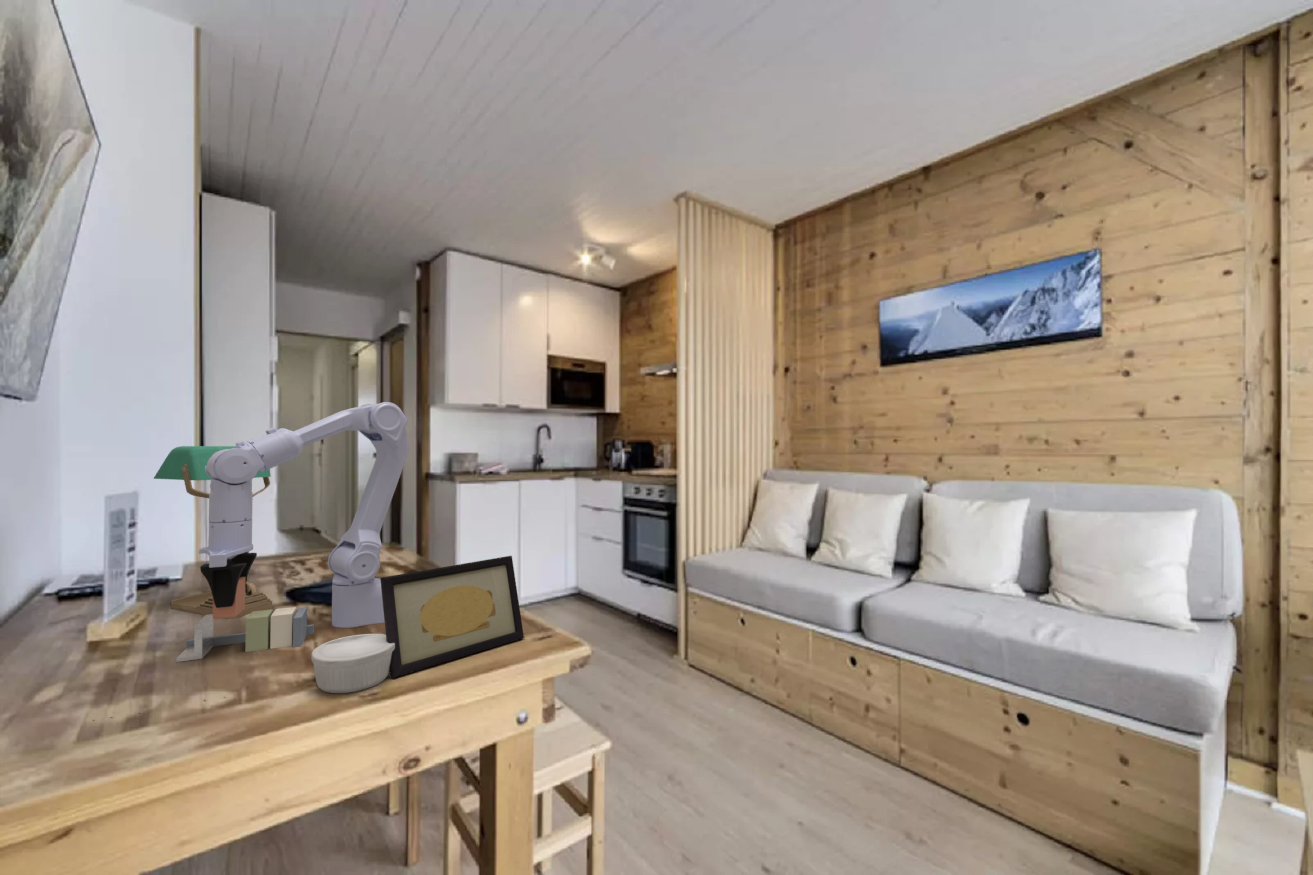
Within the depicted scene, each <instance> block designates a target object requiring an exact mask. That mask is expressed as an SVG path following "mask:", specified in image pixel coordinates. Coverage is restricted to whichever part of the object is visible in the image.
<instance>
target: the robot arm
mask: <svg viewBox="0 0 1313 875" xmlns="http://www.w3.org/2000/svg"><path fill="white" fill-rule="evenodd" d="M408 422H409V421H408V418H407V417H406V416H405V414H404V413H403V411H402V409H401V407H399V405H397V404H395V403H393V402H389V401H384V402H381V403H374V404H373V403H366V404H363V405H360V406H356V407H351V408H348V409H343V410H341V411H338V412H335V413H333V414H332V415H328V416H326V417H324V418H322V419H320V420H317V421H314V422H313V423H310V424H308V425H305V426H302V427H301V428H298V429H296V430H294V431H293V430H290V429H287V428H284V427H281V428H279V429H277V428H276V427H271V428H269V429H265V434H263V435H260V436H258V437H256V438H253V439H250V440H248V441H244V440H240V441H237V442H235V444H234V445H235V446H237V447H236V448H232V449H224V450H220V451H218V452H216V453H214V454H213V455H212V457H211V458H209V460H208V463H207V465H206V466H205V470H206V473H207V475H208V476H209V477H210V478H211V480H210V485H209V488H210V489H209V491H210V492H209V498H208V542H207V543H208V547H206V546H205V547H201V548H199V549H198V554H206V555H207V556H208V557H209V561H208V563H203V564H201V565H200V567H199V568H200V573H201V574H202V575H203V577H204V578H205V579H206V581H207V583H208V585H209V587H210V592H212V596H213V600H214V603H215V606H216V608H221V607H231V606H233V603H234V600H235V596H236V591H237V585H238V581H239V578H240V577H245V584H246V580H247V576H248V573H249V572H250V571H251V568H252V565H253V564H254V561H255V560H256V558H257V556H258V553H257V552H252V551H253V550H254V544H253V500H254V499H253V494H254V493H253V491H252V490H253V479H254V477H255V476H256V474H257V472H264V471H266V470H268V469H273V468H275V467H277V466H279V465H282V464H285V463H287V462H289V461H292V460H293V459H296V458H298V457H299V456H300V455H301V454H302V451H303V449H304V447H306V446H309V445H312V444H313V443H317V442H319V441H321V440H325V439H327V438H331V437H332V436H333V437H334V436H335V435H338V434H340V433H343V432H345V431H346V432H347V431H349V432H352V431H353V432H354V431H355V432H356V431H358V432H359V433H360V434H362V435H363V436H364V437H365V438H367V439H368V440H369V441H370V442H371V444H372V445H373V447H374V449H375V450H376V452H377V455H376V459H375V461H374V463H373V467H372V470H371V472H370V474H369V476H368V480H367V482H366V485H365V488H364V490H363V494H362V495H361V498H360V500H359V503H358V506H357V509H356V512H355V515H354V517H353V520H352V523H351V526H350V527H349V529H348V530H347V531H346V532H345V533H344V534H343V535H342V536H341V538H340V541H339V542H338V544H337V545H336V546H335V547H334V549H332V551H331V552H330V553H329V555H328V559H327V565H328V569H329V570H330V571H331V572H332V573H333V574H334V576H333V578H332V581H331V582H332V585H331V586H332V587H331V588H332V589H331V591H332V593H331V626H332V627H335V628H343V629H344V628H346V629H350V628H357V627H361V626H367V625H374V624H382V623H384V624H385V621H384V611H383V601H382V591H381V580H380V577H379V578H376V575H377V573H378V572H379V570H380V568H381V556H380V554H381V551H382V547H383V544H382V541H381V537H380V533H381V530H382V527H383V525H384V522H385V520H386V519H385V518H386V516H387V514H388V510H389V508H390V505H391V503H392V500H393V496H394V494H395V492H396V490H397V489H396V488H397V486H398V483H399V479H400V477H401V475H402V471H403V468H404V466H405V463H406V461H407V458H408V455H409V450H410V449H409V440H408V434H407V424H408ZM245 552H249V553H245ZM249 574H250V573H249Z"/></svg>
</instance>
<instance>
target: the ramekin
mask: <svg viewBox="0 0 1313 875" xmlns="http://www.w3.org/2000/svg"><path fill="white" fill-rule="evenodd" d="M394 649H395V643H388V642H386V634H384V633H363V634H354V635H349V636H344V637H340V638H336V639H332V640H329V641H326V642H324V643H322V644H320V645H318V646H317V647H315V648H314V649H313V650H312V652H311V654H310V656H311V658H310V659H311V663H312V664H313V670H314V675H315V676H314V677H315V682H316V686H317V687H318V688H319V689H321V690H322V691H323V692H325V693H330V694H347V693H354V692H358V691H362V690H363V691H364V690H366V689H369V688H372V687H374V686H376V685H379V684H380V683H382V682H383V681H384V680H385V679H386V678H387V677H388V676H389V675H390V662H391V656H392V651H393V650H394Z"/></svg>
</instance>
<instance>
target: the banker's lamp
mask: <svg viewBox="0 0 1313 875" xmlns="http://www.w3.org/2000/svg"><path fill="white" fill-rule="evenodd" d="M236 447H237V446H236V445H232V446H231V445H225V446H224V445H223V446H222V445H216V446H215V445H212V446H211V445H198V446H197V445H194V446H193V445H192V446H191V445H182V446H176V447H174V448H172V449H171V450H170V452H169V453H168V455H167V456H166V457H165V458H164V460H163V462H162V463H161V466H160V467H159V469H158V470H157V472H156V474H155V475H154V476H153V480H154V479H156V480H175V481H176V480H177V481H183V482H184V485H185V490H186V493H187V494H189V495H190V496H194V497H199V498H202V499H203V498H204V499H209V494H210V492H204V491H200V490H197V489H195V488H193V485H192V481H211V478H210V477H209V476H208V475H207V473H206V470H205V466H206V465H207V463H208V460H209V458H211V457H212V455H213V454H214V453H216V452H218V451H220V450H224V449H232V448H236ZM271 477H272V476H271V470H270V469H268V470H266V471H264V472H257V474H256V476H255V477H254V478H257V479H259V478H262V480H263V481H262V482H263V484H264V487H263V488H261V489H260V490H258V491H256V492H254V493H253V497H255V496H257V495H258V494H261V493H262V492H265V490H266V489H268V488H269V486H270V485H271V480H270V478H271ZM254 478H253V479H254ZM245 553H250V551H249V552H245ZM249 574H250V573H248V576H247V580H246V584H245V609H244V610H243V611H242V612H241V613H239V614H238V615H237V616H236V617H229V618H223V619H225V620H229V619H235V618H240V617H243V616H247V615H250V614H251V613H252V612H253V611H262V610H270V609H272V608H273V600H271V598H270V597H268V596H267V595H266V593H264V591H263V592H262V591H258V588H257V586H256V584H255V583H253V582H249V576H250V575H249ZM170 609H171V610H176V611H181V612H186V613H187V612H188V613H194V614H198V615H203V616H205V615H210V614H213V596H212V592H211V591H207V592H204V593H198V594H194V595H190V596H184V597H182V598H181V597H179V598H176V599H172V600H170Z"/></svg>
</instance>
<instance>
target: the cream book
mask: <svg viewBox="0 0 1313 875" xmlns="http://www.w3.org/2000/svg"><path fill="white" fill-rule="evenodd" d="M297 607H298V606H291V607H290V606H289V607H281V608H276V609H275V610H273V614H272V615H271V638H270V646H269V648H270V649H271V650H272V649H278V648H279V649H280V648H287V647H293V618H294V616H295V614H296V613H297V611H298V608H297Z"/></svg>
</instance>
